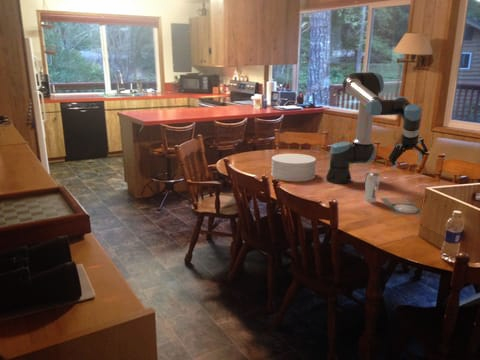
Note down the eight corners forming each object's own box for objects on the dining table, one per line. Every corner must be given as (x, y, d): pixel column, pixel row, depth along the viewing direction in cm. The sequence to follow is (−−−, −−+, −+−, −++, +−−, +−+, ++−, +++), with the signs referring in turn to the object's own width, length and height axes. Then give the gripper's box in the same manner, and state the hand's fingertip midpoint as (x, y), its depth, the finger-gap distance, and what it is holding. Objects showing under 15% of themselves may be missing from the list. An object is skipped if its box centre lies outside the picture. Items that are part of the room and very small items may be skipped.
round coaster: (398, 213, 200) (398, 211, 200) (390, 205, 211) (391, 204, 211) (421, 213, 200) (421, 212, 200) (412, 206, 210) (413, 204, 210)
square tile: (391, 205, 212) (391, 203, 212) (385, 198, 221) (385, 197, 221) (411, 205, 211) (411, 203, 211) (404, 199, 221) (404, 197, 221)
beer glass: (374, 199, 221) (377, 172, 217) (379, 203, 215) (382, 175, 211) (361, 199, 221) (364, 172, 217) (365, 204, 214) (368, 176, 210)
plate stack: (314, 182, 252) (315, 164, 249) (268, 180, 258) (269, 162, 254) (315, 171, 279) (316, 154, 275) (274, 169, 284) (274, 152, 281)
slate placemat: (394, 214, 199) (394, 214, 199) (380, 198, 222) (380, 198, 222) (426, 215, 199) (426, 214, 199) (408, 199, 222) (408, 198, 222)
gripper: (389, 144, 204) (387, 176, 218) (438, 131, 204) (433, 164, 218) (383, 135, 209) (381, 167, 223) (430, 123, 209) (426, 155, 223)
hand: (407, 165), depth 221 cm, fingers open, 13 cm apart
